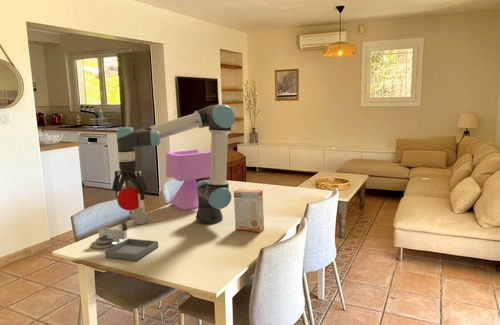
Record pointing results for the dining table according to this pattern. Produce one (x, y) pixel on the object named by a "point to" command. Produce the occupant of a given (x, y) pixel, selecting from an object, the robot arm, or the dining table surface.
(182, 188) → the pink table lamp
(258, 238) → the dining table surface
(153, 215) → the dining table surface
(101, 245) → the crank base
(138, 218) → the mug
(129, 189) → the tomato
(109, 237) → the crank
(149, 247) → the tray
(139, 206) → the robot arm
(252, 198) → the cracker box
